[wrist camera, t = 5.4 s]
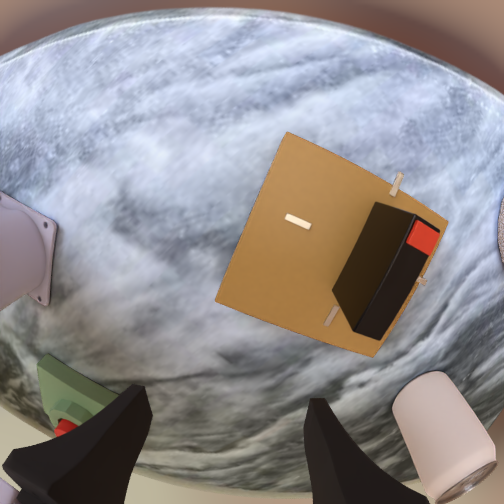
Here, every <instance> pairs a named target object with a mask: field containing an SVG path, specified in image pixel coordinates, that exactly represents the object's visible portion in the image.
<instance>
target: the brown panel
mask: <svg viewBox="0 0 504 504" xmlns="http://www.w3.org/2000/svg"><path fill="white" fill-rule="evenodd" d="M403 177H404V174H403V173H401V172H399V171H398V173H397V176H396V178H395V181H394V183H393V185H391V184H390V183H388V182H386V181H384V180H383V179H381V178H379V177H377V176H376V175H374V174H372V173H370V172H369V171H367V170H365V169H363V168H361V167H359V166H358V165H356V164H354V163H352V162H350V161H348V160H346V159H344V158H342V157H340V156H338V155H336V154H334V153H332V152H330V151H328V150H326V149H324V148H322V147H320V146H318V145H316V144H314V143H311V142H309V141H307V140H305V139H303V138H301V137H298V136H296V135H294V134H291V133H289V132H286V134H285V135H284V137H283V139H282V141H281V144H280V146H279V148H278V151H277V153H276V155H275V157H274V160H273V162H272V164H271V167H270V169H269V171H268V174H267V176H266V178H265V180H264V183H263V185H262V187H261V190H260V192H259V194H258V197H257V199H256V201H255V204H254V206H253V208H252V211H251V213H250V216H249V218H248V220H247V223H246V225H245V227H244V230H243V232H242V234H241V237H240V239H239V242H238V244H237V246H236V249H235V251H234V254H233V256H232V258H231V261H230V263H229V266H228V268H227V270H226V273H225V275H224V278H223V280H222V283H221V285H220V288H219V291H218V293H217V296H216V298H215V302H217V303H220V304H222V305H225V306H227V307H230V308H232V309H235V310H237V311H240V312H242V313H245V314H248V315H250V316H253V317H255V318H258V319H261V320H263V321H266V322H269V323H271V324H274V325H277V326H280V327H282V328H285V329H288V330H291V331H293V332H296V333H299V334H302V335H305V336H308V337H310V338H313V339H316V340H319V341H322V342H325V343H328V344H331V345H334V346H337V347H340V348H343V349H346V350H350V351H353V352H356V353H359V354H362V355H366V356H369V357H372V358H373V357H374V356H375V354H376V353H377V351H378V350H379V348H380V347H381V345H382V344H383V343H384V341H385V340H386V338H387V336H388V335H389V333H390V332H391V330H392V329H393V327H394V326H395V324H396V322H397V321H398V319H399V318H400V316H401V314H402V313H403V311H404V309H405V308H406V306H407V304H408V303H409V301H410V299H411V297H412V296H413V294H414V292H415V290H416V288H417V287H418V285H419V283H421V284H423V285H425V284H426V282H427V280H426V279H424V278H422V277H423V275H424V273H425V272H426V270H427V268H428V266H429V264H430V262H431V260H432V258H433V256H434V253H435V251H436V249H437V247H438V245H439V243H440V241H441V238H442V236H443V234H444V232H445V229H446V227H447V225H448V221H447V220H445V219H444V218H443V217H441V216H440V215H438V214H437V213H435V212H434V211H432V210H431V209H429V208H428V207H426V206H425V205H423V204H422V203H420V202H419V201H417V200H416V199H414V198H412V197H411V196H409V195H408V194H406V193H404V192H403V191H401V190H400V189H399V186H400V184H401V181H402V179H403ZM376 201H377V202H380V203H384V204H387V205H390V206H393V207H396V208H399V209H402V210H405V211H409V212H412V213H414V214H417V215H418V216H420V217H421V218H423V219H425V220H426V221H428V222H429V223H431V224H432V225H434V226H435V227H437V228H438V229H440V236H439V238H438V241H437V243H436V245H435V247H434V249H433V251H432V253H431V256H429V257H428V259H427V261H426V263H425V265H424V267H423V269H422V271H421V273H420V275H419V277H418V279H417V280H416V282H415V284H414V286H413V288H412V290H411V291H410V293H409V295H408V297H407V299H406V300H405V302H404V304H403V305H402V307H401V309H400V310H399V312H398V314H397V315H396V317H395V319H394V320H393V322H392V324H391V325H390V327H389V328H388V330H387V331H386V333H385V335H384V336H383V338H382V339H381V340H380V341H378V340H375V339H372V338H369V337H366V336H363V335H361V334H358V333H355V332H353V331H352V329H351V327H350V325H349V323H348V321H347V319H346V317H345V316H344V314H343V312H342V310H341V308H340V306H339V304H338V302H337V300H336V298H335V296H334V294H333V292H332V288H333V286H334V285H335V283H336V281H337V279H338V277H339V275H340V273H341V271H342V269H343V267H344V266H345V264H346V262H347V260H348V258H349V256H350V254H351V252H352V250H353V248H354V246H355V244H356V242H357V240H358V237H359V235H360V233H361V231H362V229H363V227H364V225H365V223H366V221H367V218H368V216H369V214H370V212H371V210H372V207H373V205H374V203H375V202H376Z"/></svg>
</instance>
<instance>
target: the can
mask: <svg viewBox="0 0 504 504" xmlns="http://www.w3.org/2000/svg"><path fill="white" fill-rule="evenodd" d="M392 411H393V414H394V417H395V419H396V421H397V424H398V426H399V428H400V431H401V433H402V435H403V438H404V440H405V443H406V445H407V447H408V450H409V452H410V455H411V457H412V460H413V462H414V465H415V467H416V470H417V472H418V475H419V477H420V480H421V482H422V485H423V487H424V490H425V492H426V494H427V495H429V496H430V497H432V498H433V499H434V500H435V501H436V502H435V504H445V503H448V502H450V501H453V500H455V499H457V498H459V497H460V496H462V495H464V494H465V493H467V492H469V491H470V490H471V489H473V488H474V487H476V486H477V485H479V484H480V483H481V482H482V481H484V479H486V478H487V477H488V476H489V475H490V474H491V473H492V472H493V471H494V470H495V468H496V467H497V466H498V461H496V457H495V456H496V450H495V445H494V443H493V442H492V440H491V438H490V436H489V435H488V433H487V432H486V430H485V428H484V427H483V425H482V424H481V422H480V421H479V419H478V418H477V416H476V415H475V413H474V412H473V410H472V409H471V407H470V406H469V405H468V403H467V402H466V400H465V399H464V397H463V396H462V395H461V393H460V392H459V390H458V389H457V388H456V386H455V385H454V384H453V382H452V381H451V380H450V378H449V377H448V376H447V375H446V374H445V373H443V372H440V371H432V372H427V373H424V374H422V375H419V376H418V377H416V378H414V379H413V380H411V381H410V382H409V383H408V384H406V385H405V386H404V387H403V388H402V389H401V391H400V392H399V393H398V395H397V397H396V399H395V401H394V403H393V406H392Z"/></svg>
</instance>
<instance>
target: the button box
mask: <svg viewBox="0 0 504 504" xmlns="http://www.w3.org/2000/svg"><path fill="white" fill-rule="evenodd" d="M37 371H38V379H39V385H40V391H41V397H42V402H43V407H44V412H45V413H46V414H48V415H49V418H50V421H51V422H52V424H53V425H54V427H55V428H56V427H57V426H58V424H59V423H60V421H61V420H62V419H66V420H69V421H71V422H73V423H74V424H76V425H78V426H80V425H81V424H83V423H84V422H86V421H87V420H89V419H90V418H91V417H93V416H94V415H96V414H97V413H98V412H100V411H101V410H102V409H103V408H105V407H106V406H107V405H108V404H110V403H111V402H112V401H113V400H114V399H116V398H117V397H118V396H119V395H118V394H116V393H114V392H112V391H110V390H108V389H106V388H104V387H102V386H100V385H99V384H97V383H95V382H93V381H91V380H90V379H88V378H86V377H84V376H83V375H81V374H79V373H78V372H76V371H74V370H73V369H71V368H69V367H68V366H66V365H65V364H63V363H61V362H60V361H58V360H57V359H55V358H54V357H52V356H51V355H49V354H47V355H46V356H45V357H44V358H43V359H42V360H41V361H40V362H39V363H38V364H37Z"/></svg>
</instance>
